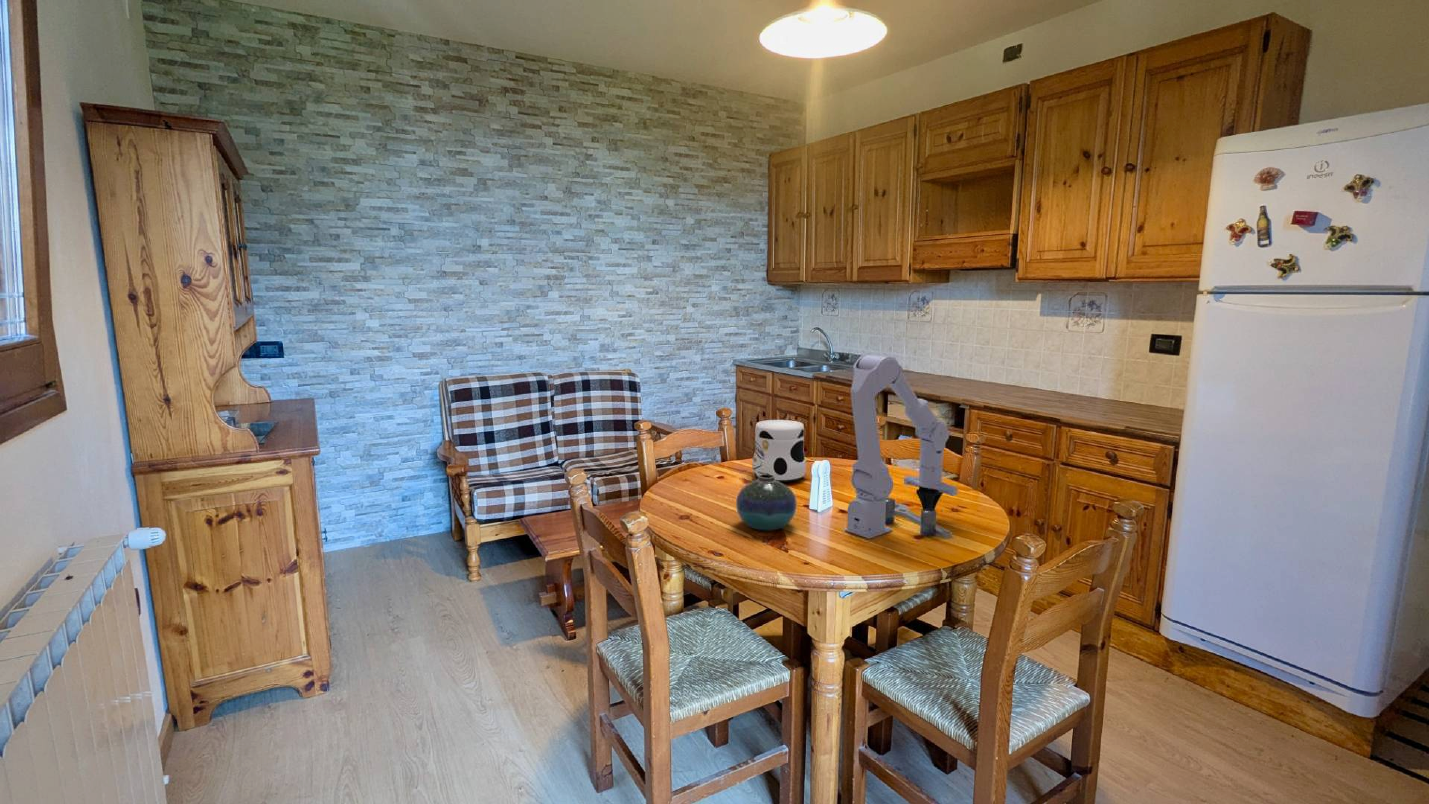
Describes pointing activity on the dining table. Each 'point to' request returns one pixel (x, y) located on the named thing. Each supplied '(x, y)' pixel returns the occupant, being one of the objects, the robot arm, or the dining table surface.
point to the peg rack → (926, 518)
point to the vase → (766, 504)
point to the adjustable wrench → (918, 519)
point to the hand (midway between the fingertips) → (928, 516)
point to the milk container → (779, 450)
